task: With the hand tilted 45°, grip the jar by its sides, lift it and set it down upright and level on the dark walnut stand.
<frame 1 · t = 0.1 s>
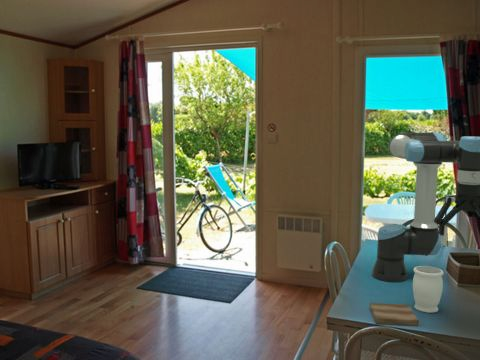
hand: (464, 245, 157), 28 cm above the table, tool pointing down, fingers open, 13 cm apart
walnut stand: (392, 316, 167), on the table
jar: (426, 309, 174), on the table
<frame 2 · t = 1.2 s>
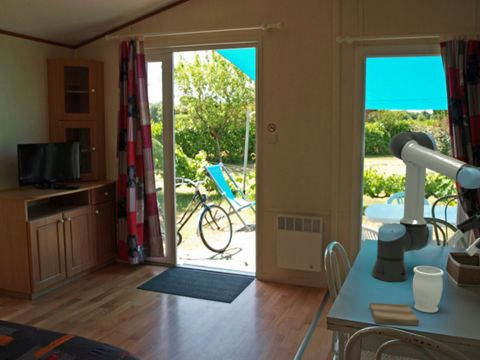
hand: (458, 248, 172), 23 cm above the table, tool tilted 45°, fingers open, 13 cm apart
nothing on the table moved.
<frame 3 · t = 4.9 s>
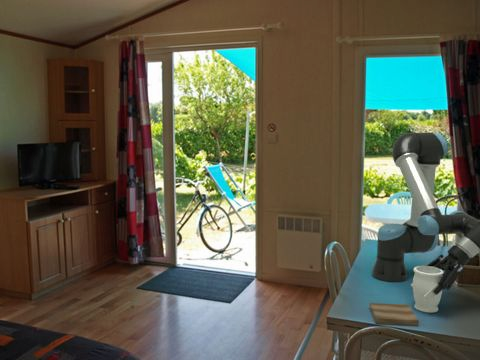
hand: (419, 293, 173), 6 cm above the table, tool tilted 45°, fingers closed on jar, 10 cm apart
jar: (426, 309, 174), on the table, touching gripper
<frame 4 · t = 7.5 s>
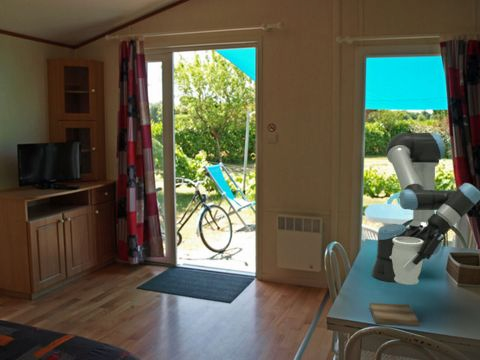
hand: (398, 264, 165), 19 cm above the table, tool tilted 45°, fingers closed on jar, 10 cm apart
jar: (406, 281, 166), point 13 cm above the table, touching gripper
when the fingers open (9 cm above the table, at t = 10.2 s): jar drops 1 cm, resting on walnut stand.
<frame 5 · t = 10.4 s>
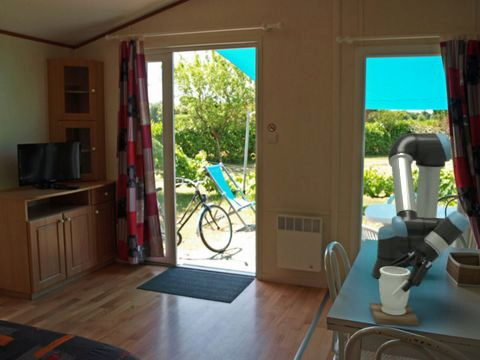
hand: (387, 289, 166), 10 cm above the table, tool tilted 45°, fingers open, 13 cm apart
jar: (393, 311, 167), point 2 cm above the table, touching walnut stand
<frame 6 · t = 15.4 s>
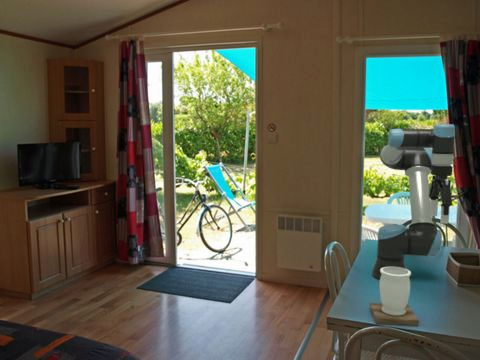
hand: (438, 219, 181), 32 cm above the table, tool pointing down, fingers open, 13 cm apart
nothing on the table moved.
at the end: jar inside the target area on the walnut stand (0.1 cm from its centre), point 1.8 cm above the walnut stand's base; jar tilted 0°; the gripper is holding nothing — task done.
